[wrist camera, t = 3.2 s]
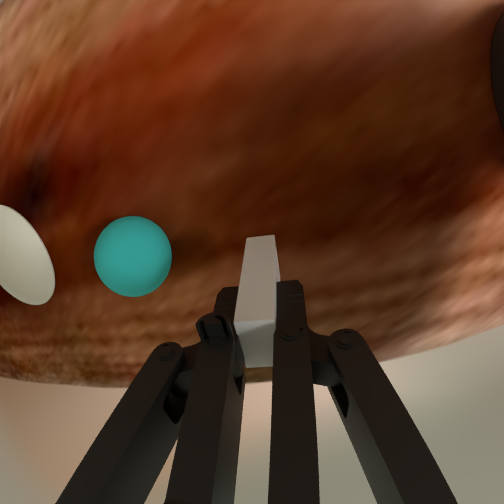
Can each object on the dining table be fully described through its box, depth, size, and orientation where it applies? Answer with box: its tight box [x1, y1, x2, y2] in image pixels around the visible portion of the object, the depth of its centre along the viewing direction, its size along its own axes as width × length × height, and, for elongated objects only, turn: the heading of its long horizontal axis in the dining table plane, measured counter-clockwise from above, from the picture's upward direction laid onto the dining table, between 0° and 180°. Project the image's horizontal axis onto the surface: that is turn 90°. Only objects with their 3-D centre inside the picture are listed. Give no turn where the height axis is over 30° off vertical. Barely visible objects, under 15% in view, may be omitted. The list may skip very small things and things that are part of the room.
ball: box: [94, 216, 172, 297], centre depth 20 cm, size 6×6×6 cm
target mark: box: [0, 205, 55, 305], centre depth 25 cm, size 12×12×1 cm
